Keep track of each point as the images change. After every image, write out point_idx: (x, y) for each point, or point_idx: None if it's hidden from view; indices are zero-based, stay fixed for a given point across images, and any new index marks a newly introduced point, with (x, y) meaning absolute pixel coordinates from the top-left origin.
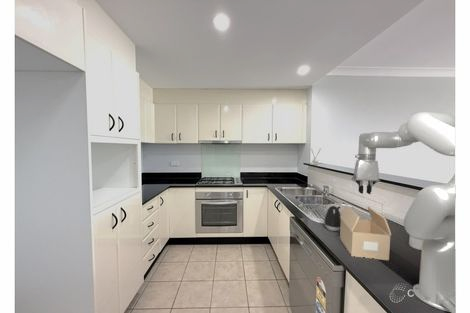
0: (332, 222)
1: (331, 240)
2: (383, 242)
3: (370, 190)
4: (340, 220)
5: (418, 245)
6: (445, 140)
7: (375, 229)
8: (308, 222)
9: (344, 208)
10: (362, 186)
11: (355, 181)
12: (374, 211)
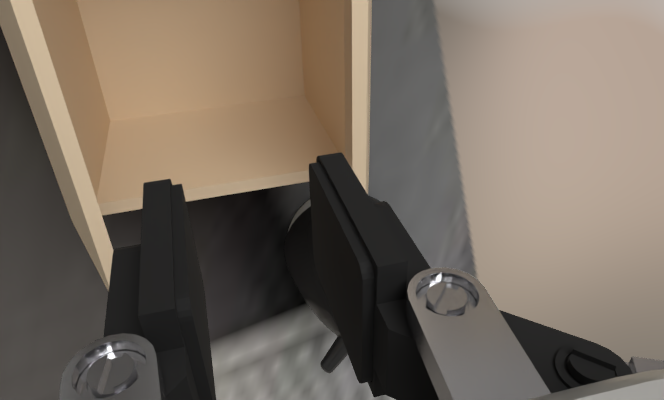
0: None
1: (379, 38)
2: None
3: (147, 228)
4: (312, 246)
5: None
6: None
7: (69, 84)
8: (453, 265)
9: None
10: (390, 255)
11: (634, 364)
12: (67, 127)
